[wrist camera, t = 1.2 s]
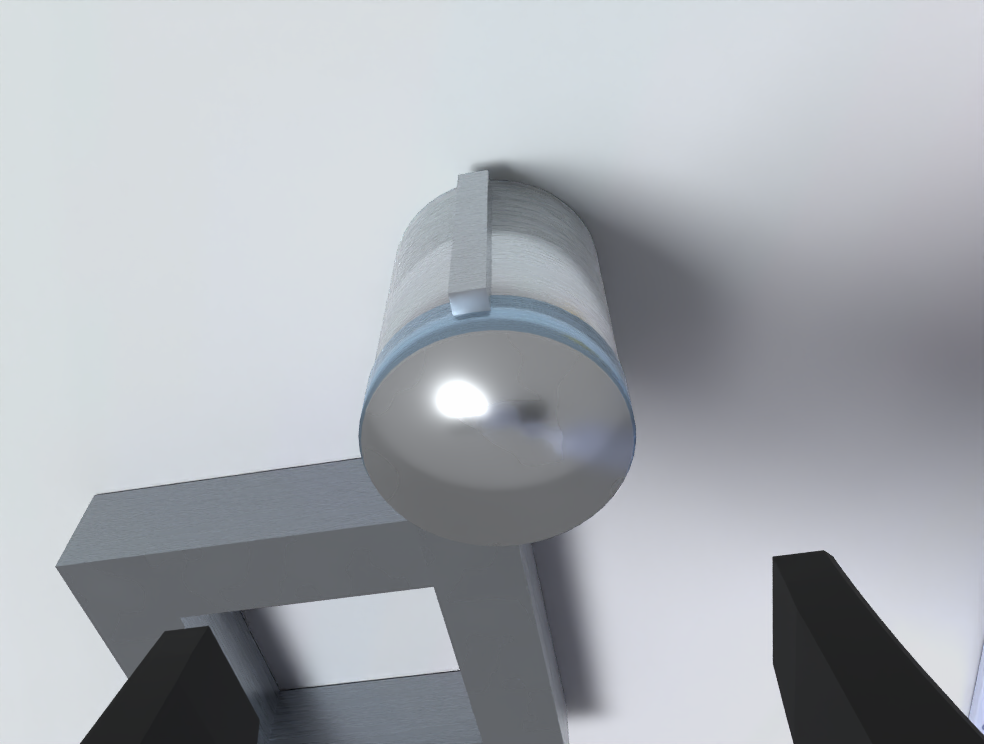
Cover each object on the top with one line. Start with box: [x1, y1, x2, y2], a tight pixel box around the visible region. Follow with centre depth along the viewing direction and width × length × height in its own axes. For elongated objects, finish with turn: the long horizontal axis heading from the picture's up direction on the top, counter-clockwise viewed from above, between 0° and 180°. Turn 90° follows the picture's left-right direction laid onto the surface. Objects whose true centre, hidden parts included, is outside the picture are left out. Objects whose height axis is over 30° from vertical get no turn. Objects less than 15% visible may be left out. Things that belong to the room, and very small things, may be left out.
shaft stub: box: [359, 170, 636, 546], centre depth 17 cm, size 5×5×6 cm
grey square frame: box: [55, 458, 569, 744], centre depth 25 cm, size 11×11×2 cm
